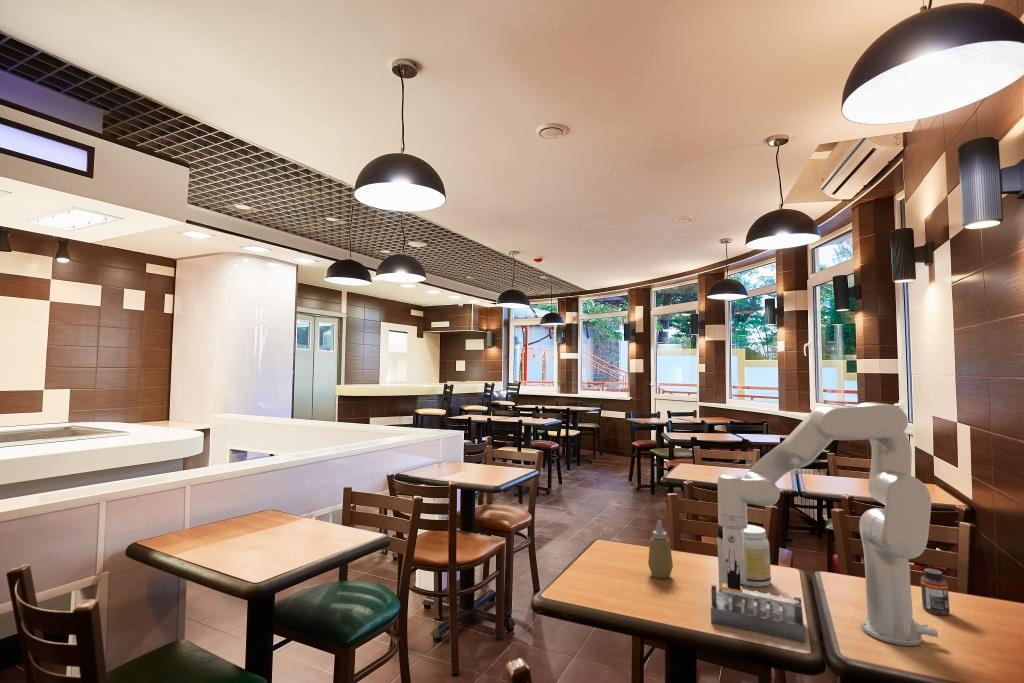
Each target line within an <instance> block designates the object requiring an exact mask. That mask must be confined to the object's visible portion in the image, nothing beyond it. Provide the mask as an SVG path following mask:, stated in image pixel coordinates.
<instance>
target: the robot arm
mask: <svg viewBox="0 0 1024 683" xmlns="http://www.w3.org/2000/svg"><path fill="white" fill-rule="evenodd" d="M908 419H909V418H908V416H907V415H906V413H905V411H904V410H903V409H901V408H900V407H898V406H896V405H894V404H890V403H889V404H888V403H880V402H872V401H870V402H861V403H858V404H856V405H855V406H850V407H849V406H843V407H841V406H839V407H837V406H831V405H829V406H828V405H823V406H822V405H821V406H818V407H816V408H814V409H813V410H812V411H811V412H810V413H809V414H808V415H807V416H806V417H805V418H804V419H803V420H802V421H801V422H800V423H799V424H798V425H797V426H796V427H795V428H794V429H793V431H791V433H790V434H789V435H788V436H787V437H786V438H785V439H784V440H782V442H780V443H779V444H777V445H776V446H775V447H774V448H772V449H771V450H770V451H769V452H767V453H765V455H763V456H762V457H760V459H758V460H757V461H756V462H755V463H754V465H753V466H752V467H751V468H749V470H748V471H747V472H746V473H745V475H744V476H741V475H738V474H731V473H728V474H725V473H724V474H721V475H719V476H718V478H717V515H718V516H717V518H718V519H717V520H718V522H717V524H718V525H719V527H721V526H723V551H724V562H725V563H726V564H727V563H728V572H727V582H728V587H730V588H735V589H740V586H741V585H742V584H741V585H740V573H739V565H741V567H742V566H743V565H744V562H745V542H744V529H745V528H747V524H748V504H751V505H755V506H756V505H757V506H761V507H771V506H773V505H775V504H776V503H778V501H779V500H780V495H781V492H780V489H779V487H778V486H777V484H776V483H777V482H778V481H779V480H780V479H781V478H782V477H784V476H785V475H786V474H788V473H789V472H791V471H794V470H796V469H801V468H804V467H806V466H809V465H811V464H812V463H813V462H814V460H816V459H817V457H819V455H820V454H822V452H823V451H824V450H825V449H826V448H827V447H828V446H829V445H830V444H831V443H832V442H833V441H834V440H837V441H858V440H859V441H862V440H868V441H869V443H870V446H871V462H870V471H869V477H868V492H869V495H870V496H871V497H872V498H873V499H874V500H875V501H877V502H878V503H881V504H882V505H884V508H879V507H874V508H870V509H868V510H866V511H865V512H864V513H863V514H862V515H861V516H860V519H859V522H858V523H859V524H858V526H859V534H860V538H861V539H860V540H861V542H862V544H861V545H862V549H863V555H864V574H865V575H864V576H865V577H864V578H865V593H866V609H867V610H866V611H867V618H864V619H862V620H861V621H860V627H861V629H862V631H864V632H865V633H866V634H867V635H870V636H871V637H873V638H875V639H877V640H879V641H882V642H886V643H889V644H891V645H892V644H894V645H896V646H897V645H898V646H906V647H911V646H912V647H914V646H919V645H920V644H922V642H923V638H922V636H923V635H926V636H928V637H933V638H938V637H939V634H938V632H939V631H938V629H937V628H934V627H929V625H928V624H926V623H919V622H917V621H915V619H914V618H913V615H914V614H913V603H912V602H913V601H912V586H911V584H912V583H911V570H910V569H911V568H910V563H909V562H910V561H909V560H912V559H916V558H918V557H919V556H921V555H922V554H923V553H924V551H925V550H926V548H927V544H928V540H929V531H930V525H931V524H930V521H931V515H932V514H931V513H932V498H931V494H930V491H929V489H928V488H927V486H926V484H924V482H922V481H921V480H920V479H918V478H917V477H915V476H913V475H912V458H913V456H912V445H911V442H910V440H909V437H908V435H907V434H906V432H905V430H907V428H908V424H909V420H908ZM741 587H742V586H741Z"/></svg>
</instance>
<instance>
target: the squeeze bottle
mask: <svg viewBox="0 0 1024 683" xmlns="http://www.w3.org/2000/svg"><path fill="white" fill-rule="evenodd" d="M647 562H648V563H647V564H648V567H649V570H650V573H651V575H652V577H654V578H657V579H669V578H670V577H671V574H672V571H673V567H674V564H673V556H672V547H671V541H670V539H669V538H668V533H667V532H666V531H664V527H663V523H662V521H661V520H657V523H656V528H655V530H653V531H652V537H651V538H650V539H649V548H648V561H647Z"/></svg>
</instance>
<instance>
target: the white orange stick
mask: <svg viewBox="0 0 1024 683" xmlns="http://www.w3.org/2000/svg"><path fill="white" fill-rule="evenodd" d="M745 589H746V588H745ZM745 589H743V586H740V589H735V588H730V587H728V584H726V583H723V584H722V592H725V593H730V594H734V595H739V596H744V597H749V598H753V599H758V600H763V601H768V602H773V603H777V604H782V605H787V606H792V607H795V604H796V605H801V606H802V603H801V604H800V600H798V599H797V600H794V598H788V597H783V596H782V597H779V595H778V596H777V595H773V594H770V595H769V594H767V593H763V592H759V591H758V592H755V590H754V591H753V590H749V589H747V590H745Z"/></svg>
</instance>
